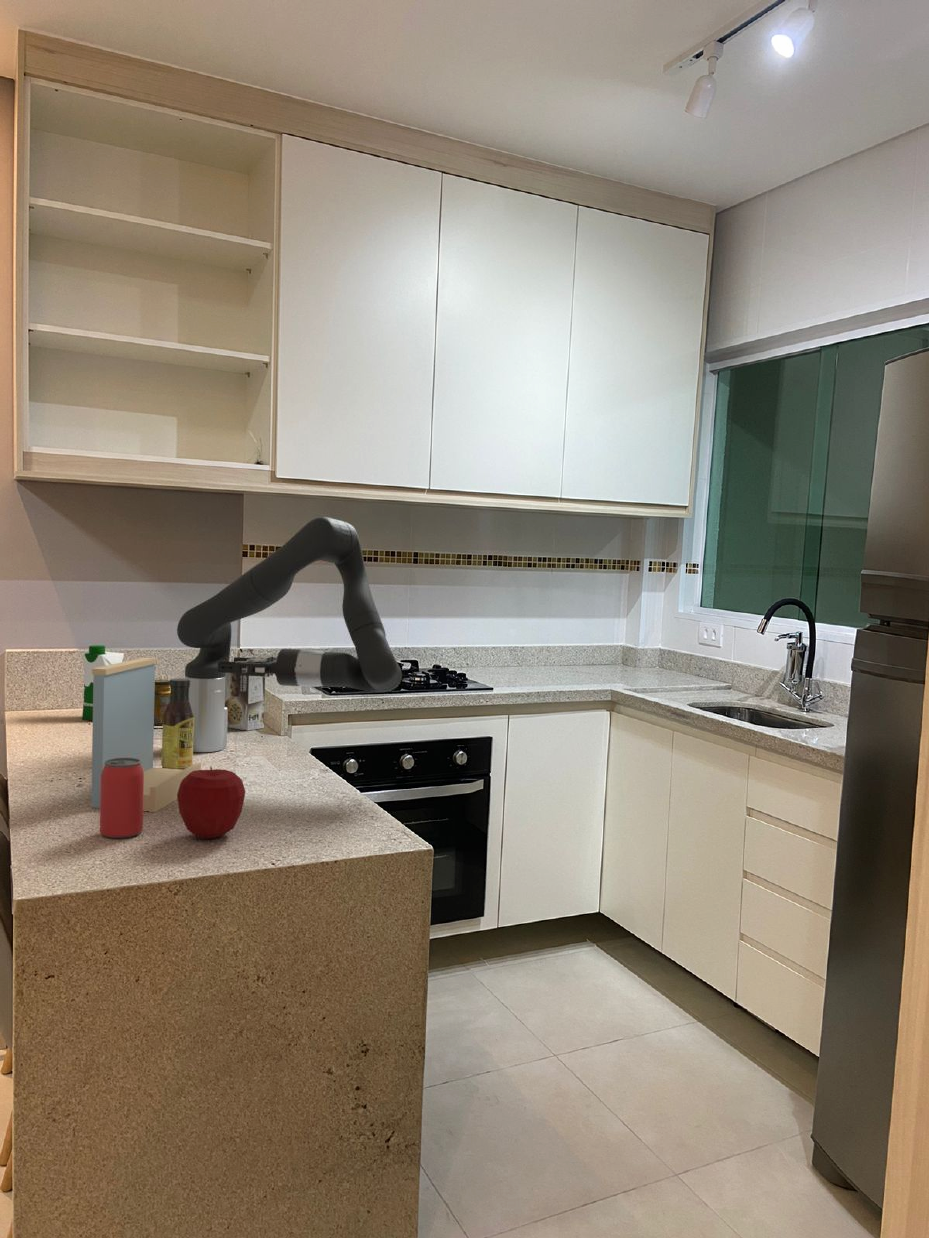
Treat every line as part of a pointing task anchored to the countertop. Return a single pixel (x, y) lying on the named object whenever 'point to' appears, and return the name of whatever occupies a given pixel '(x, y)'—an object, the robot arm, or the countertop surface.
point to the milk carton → (90, 661)
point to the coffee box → (245, 701)
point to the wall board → (130, 729)
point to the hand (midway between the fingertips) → (226, 664)
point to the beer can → (121, 798)
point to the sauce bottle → (178, 728)
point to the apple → (210, 802)
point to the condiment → (161, 700)
